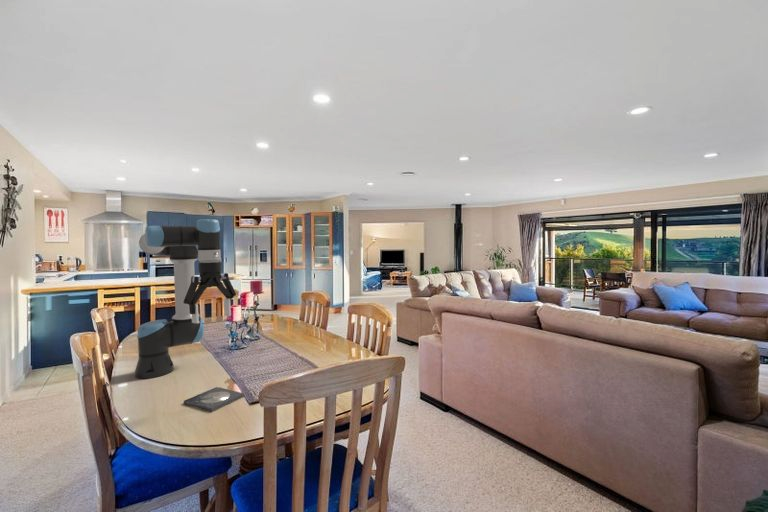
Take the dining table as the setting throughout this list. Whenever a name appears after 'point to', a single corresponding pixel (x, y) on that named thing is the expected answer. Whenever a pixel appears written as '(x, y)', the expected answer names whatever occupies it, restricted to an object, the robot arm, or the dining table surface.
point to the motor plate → (214, 399)
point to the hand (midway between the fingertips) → (212, 319)
